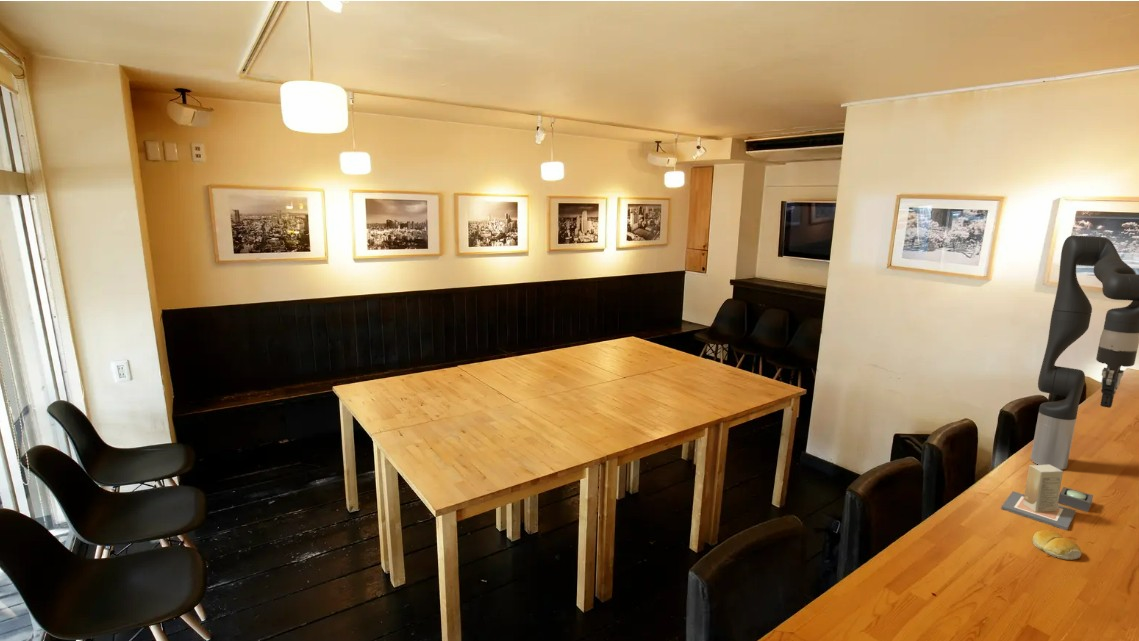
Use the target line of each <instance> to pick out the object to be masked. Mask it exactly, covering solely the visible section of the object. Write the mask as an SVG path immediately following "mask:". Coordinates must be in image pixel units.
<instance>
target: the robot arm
mask: <svg viewBox="0 0 1139 641" xmlns="http://www.w3.org/2000/svg"><path fill="white" fill-rule="evenodd" d="M1059 264H1060V265H1059V273H1058V283H1057V290H1056V294H1055V298H1054V303H1053V306H1052V313H1051V317H1050V322H1049V331H1048V338H1047V344H1046V348H1045V352H1044V356H1043V360H1042V364H1041V366H1040V371H1039V375H1038V380H1037V388H1038V390H1039V391H1040V392H1041V393H1046V394H1051V395H1055V396H1057V395H1058V396H1061V397H1066V398H1064V399H1060V400H1057V401H1045V402H1042V403H1041V404H1040V405H1039V408H1038V414H1037V421H1036V424H1035V431H1034V437H1033V444H1032V448H1031V453H1030V458H1031V460H1032V461H1033V462H1034V463H1033V462H1032V461H1031V460H1030V461H1031V462H1032V463H1033V464H1035V463H1036V464H1035V465H1037V464H1038V465H1052V466H1054V467H1056V468H1058V469H1060V470H1061V471H1063V470H1066V469H1067V468H1068V465H1069V458H1070V453H1071V447H1072V444H1073V438H1074V433H1075V427H1076V421H1077V417H1078V411H1079V404H1080V400H1081V398H1082V397H1081V396H1082V394H1083V390H1084V385H1085V381H1086V374H1085V372H1084V371H1083V370H1081V369H1079V368H1070V367H1065V366H1057V365H1056V361H1057V360H1058V359H1059V358H1060V356H1061V355H1062V354H1063V353H1064V352H1065V351H1066V350H1067V349H1068V348H1070V346H1071V345H1072V344H1074V343H1075V342H1076V341H1077V340H1078V339H1079V338H1081V337H1082V336H1083V335H1084V334H1085V333H1086V332H1087V331H1088V329H1089V326H1090V324H1091V317H1092V312H1093V306H1092V304H1091V301H1090V300H1089V297H1088V296H1087V294H1086V293H1085V292H1084V290H1083V288H1082V287H1081V285H1080V283H1079V281H1078V277H1077V266H1086V267H1087V266H1088V267H1093V274H1094V276H1095V278H1096V279H1097V280H1098V281H1099V282H1100V283H1101V285H1102V294H1103V295H1104V296H1105V297H1106V298H1108V299H1111V300H1113V301H1114V300H1115V301H1131V303H1129V304H1128V305H1127V306H1123V307H1114V308H1111V309H1108V310H1107V311H1106V314H1105V318H1104V319H1105V321H1104V323H1103V324H1104V325H1103V329H1102V332H1101V334H1100V338H1099V343H1098V349H1097V353H1096V358H1095V360H1096V361H1097V362H1098V363H1101V364H1106V367H1103V369H1102V370H1101V376H1102V377H1101V382H1100V384H1101V385H1100V386H1101V390H1100V392H1101V394H1102V395H1101V399H1100V407H1104V408H1108V409H1110V408H1111V407H1112V406H1113V402H1114V397H1115V395H1116V393H1117V390H1118V388H1119V386H1120V384H1121V380H1122V377H1123V376H1124V371H1125V370H1123V369H1121V367H1125V368H1126V367H1127V368H1128V367H1133V366H1135V363H1136V358H1137V353H1138V348H1139V274H1136V271H1135V270H1134V269H1133V268H1132V267H1131V266H1130V265H1128V264H1127V263H1126V262H1125V261H1123V259H1122V258H1121V256H1120V254H1119V252H1118V250H1117V248H1116V246H1115V245H1114V243H1113V242H1112V241H1111V240H1110V239H1109V238H1108V237H1104V236H1092V235H1069V236H1068V237H1067V238H1066V239H1065V240H1064V242H1063V244H1062V248H1061V253H1060V260H1059Z"/></svg>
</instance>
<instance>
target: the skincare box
mask: <svg viewBox="0 0 1139 641" xmlns="http://www.w3.org/2000/svg"><path fill="white" fill-rule="evenodd" d="M1063 474H1064V471H1063V470H1060V469H1058V468H1056V467H1054V466H1052V465H1037V464H1030V465H1028V471H1027V476H1026V483H1025V487H1024V488H1025V490H1024V501H1023V504H1024V505H1025V506H1027V507H1028V508H1030V509H1031V510H1033V511H1035V512H1050V511H1057V505H1059V503H1058V499H1059V494H1060V492H1061V486H1062V481H1063Z"/></svg>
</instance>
